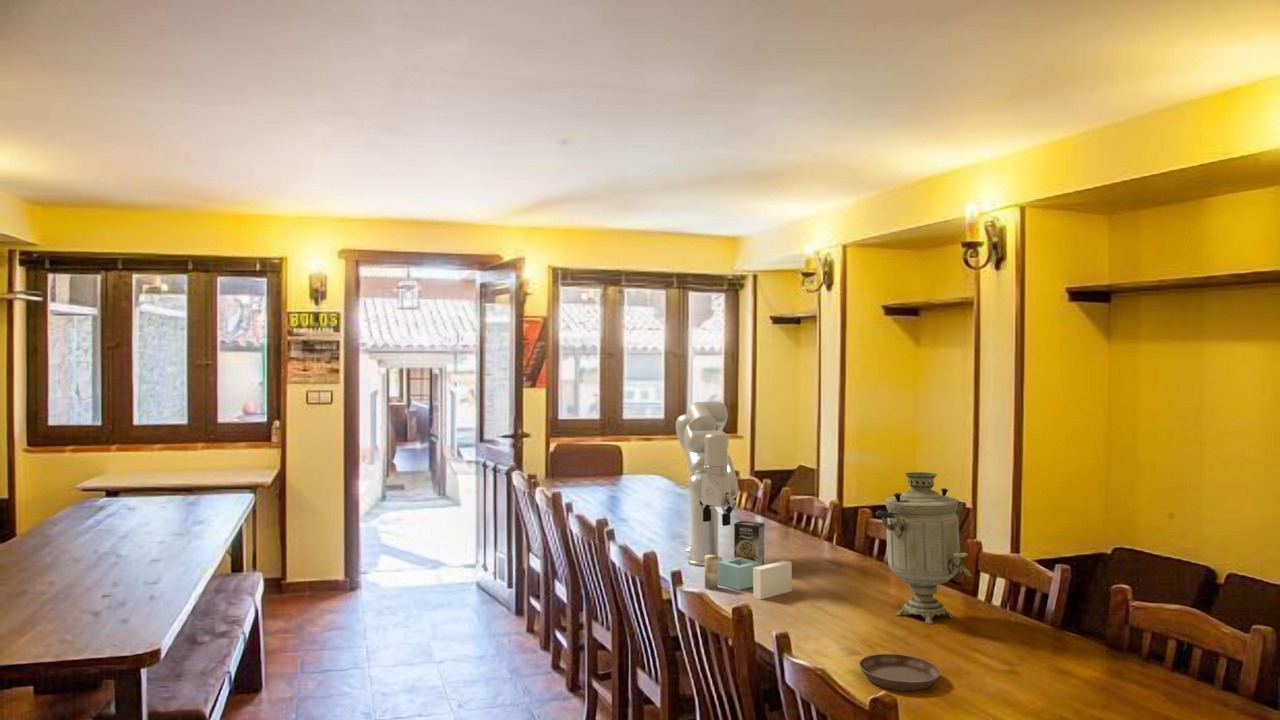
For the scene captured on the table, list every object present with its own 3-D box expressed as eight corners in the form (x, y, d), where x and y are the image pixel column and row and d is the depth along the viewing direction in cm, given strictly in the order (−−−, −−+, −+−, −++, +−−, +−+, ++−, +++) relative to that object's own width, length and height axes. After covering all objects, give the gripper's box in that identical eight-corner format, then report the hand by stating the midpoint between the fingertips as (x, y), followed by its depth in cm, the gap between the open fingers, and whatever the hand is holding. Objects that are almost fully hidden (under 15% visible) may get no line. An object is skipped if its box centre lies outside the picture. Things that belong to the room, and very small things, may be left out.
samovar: (907, 638, 225) (907, 484, 224) (856, 609, 250) (855, 471, 250) (1005, 628, 233) (1005, 479, 232) (946, 601, 258) (945, 467, 257)
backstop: (753, 597, 263) (753, 567, 263) (784, 589, 272) (784, 560, 272) (760, 599, 261) (760, 569, 261) (791, 591, 270) (791, 562, 270)
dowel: (702, 587, 275) (702, 556, 275) (711, 585, 277) (711, 554, 277) (710, 590, 272) (710, 558, 272) (720, 588, 274) (719, 556, 274)
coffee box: (733, 570, 296) (733, 523, 296) (740, 566, 302) (740, 520, 301) (758, 573, 292) (758, 525, 291) (765, 569, 297) (765, 522, 297)
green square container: (717, 583, 279) (716, 561, 279) (739, 578, 285) (739, 557, 285) (739, 590, 271) (739, 567, 271) (761, 584, 277) (761, 562, 277)
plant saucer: (923, 665, 207) (923, 652, 206) (952, 694, 189) (952, 680, 189) (849, 666, 206) (849, 653, 206) (872, 696, 188) (872, 682, 188)
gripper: (690, 469, 290) (690, 521, 290) (726, 474, 277) (727, 528, 277) (706, 467, 295) (706, 518, 295) (743, 472, 282) (743, 525, 282)
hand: (716, 523), depth 286 cm, fingers open, 8 cm apart
